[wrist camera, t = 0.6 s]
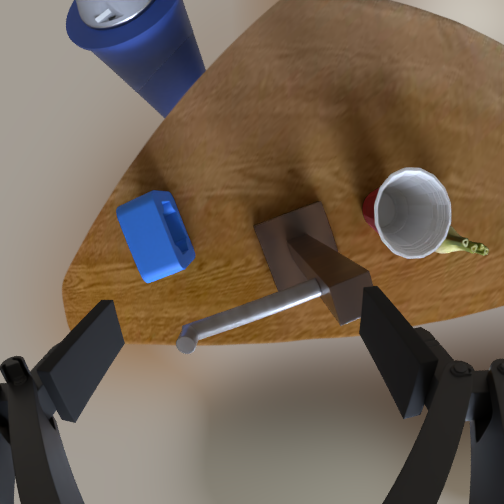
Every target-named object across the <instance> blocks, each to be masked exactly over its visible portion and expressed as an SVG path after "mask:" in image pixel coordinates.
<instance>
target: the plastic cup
mask: <svg viewBox="0 0 504 504" xmlns="http://www.w3.org/2000/svg"><path fill="white" fill-rule="evenodd" d="M362 208H363V216H364V218H365V220H366V222H367V223H368V224H369V225H370V226H371V227H372V228H373V229H374V230H375V231H376V232H377V233H379V235H380V237H381V240H382V241H383V243H384V244H385V245H386V246H387V247H388V248H389V249H390V250H391V251H392V252H393V253H395V254H397V255H400V256H402V257H405V258H407V259H414V258H424V257H425V256H427V255H429V254H431V253H432V252H434V251H436V250H437V249H438V247H439V246H440V245H441V244H442V242H443V241H444V240H445V238H446V236H447V233H448V230H449V227H450V224H451V203H450V200H449V197H448V195H447V192H446V189H445V187H444V186H443V185H442V184H441V182H440V181H439V180H438V179H437V178H436V177H435V175H433V174H431V173H429V172H427V171H425V170H423V169H421V168H403V169H401V170H399V171H397V172H395V173H392V174H391V175H390V176H389V177H388V178H387V179H386V181H385V182H384V183H383V184H382V185H381V187H379V188H377V189H376V190H375V191H373V192H371V193H370V194H369V195H368V196H367V197H366V198H365V200H364V203H363V206H362Z"/></svg>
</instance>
